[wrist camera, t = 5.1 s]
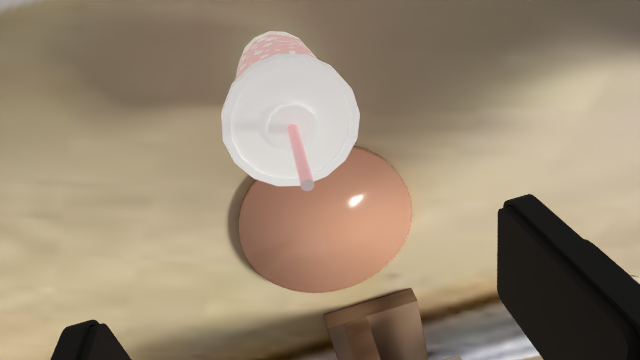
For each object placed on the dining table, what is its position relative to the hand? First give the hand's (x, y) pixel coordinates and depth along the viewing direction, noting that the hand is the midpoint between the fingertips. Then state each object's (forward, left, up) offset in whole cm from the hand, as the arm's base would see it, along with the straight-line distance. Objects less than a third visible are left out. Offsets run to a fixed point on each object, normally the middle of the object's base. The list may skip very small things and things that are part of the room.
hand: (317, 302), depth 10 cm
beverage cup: (0, 0, -20) cm, 19 cm away
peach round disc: (+4, +12, -19) cm, 23 cm away
